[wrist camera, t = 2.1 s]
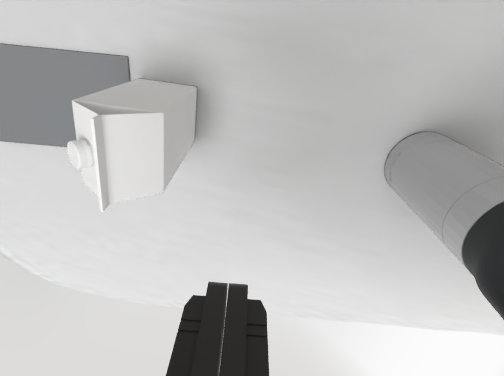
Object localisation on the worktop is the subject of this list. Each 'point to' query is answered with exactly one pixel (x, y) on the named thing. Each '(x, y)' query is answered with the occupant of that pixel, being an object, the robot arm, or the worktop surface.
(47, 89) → the mat
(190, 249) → the worktop surface
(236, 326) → the robot arm
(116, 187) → the milk carton
